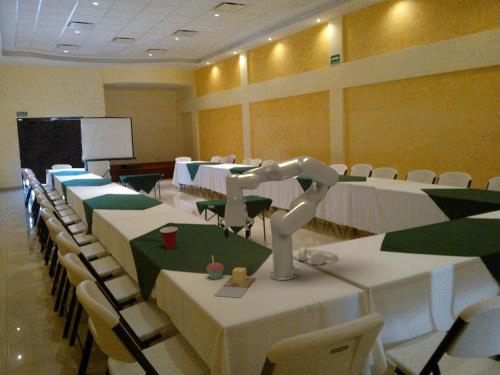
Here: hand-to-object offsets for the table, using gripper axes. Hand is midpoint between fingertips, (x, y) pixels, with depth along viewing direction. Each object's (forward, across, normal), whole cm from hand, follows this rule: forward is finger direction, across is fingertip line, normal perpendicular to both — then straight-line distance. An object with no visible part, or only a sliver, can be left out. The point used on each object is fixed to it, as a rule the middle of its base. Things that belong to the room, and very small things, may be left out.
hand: (237, 238), depth 192 cm
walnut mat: (+21, 0, +1) cm, 21 cm away
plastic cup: (+21, +60, -50) cm, 81 cm away
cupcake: (+21, +14, -4) cm, 25 cm away
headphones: (+22, -32, -38) cm, 54 cm away
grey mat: (+21, 0, +13) cm, 25 cm away
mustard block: (+21, 0, +1) cm, 21 cm away
